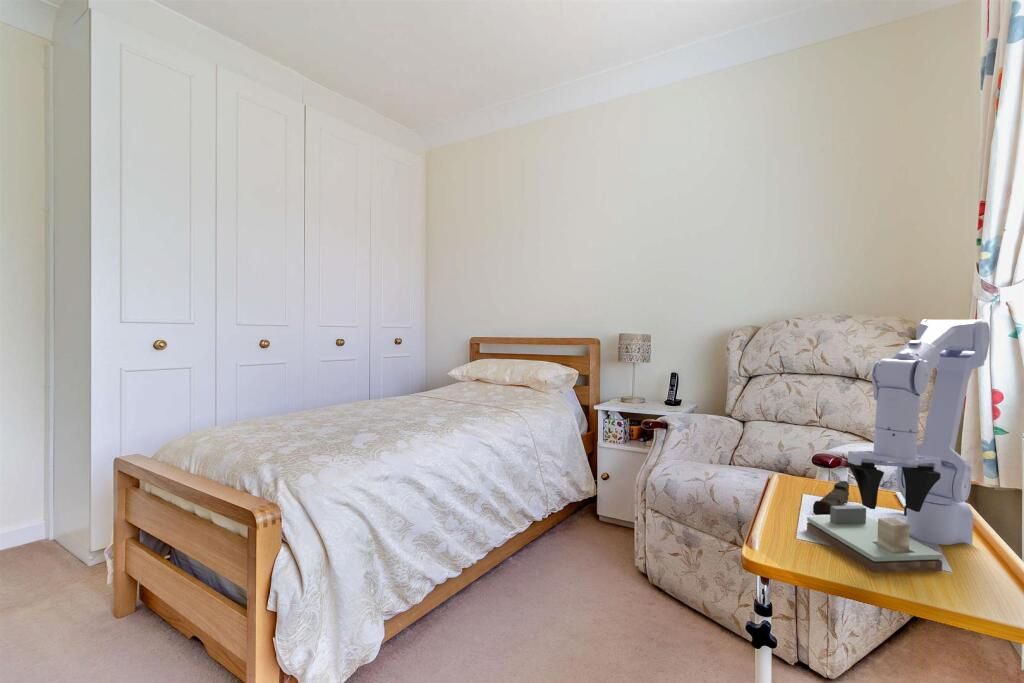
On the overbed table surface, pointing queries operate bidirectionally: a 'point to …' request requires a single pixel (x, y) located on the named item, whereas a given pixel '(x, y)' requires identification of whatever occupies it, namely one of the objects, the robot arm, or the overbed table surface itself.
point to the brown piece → (875, 565)
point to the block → (893, 535)
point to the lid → (866, 535)
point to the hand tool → (832, 499)
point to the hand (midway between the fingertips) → (890, 508)
